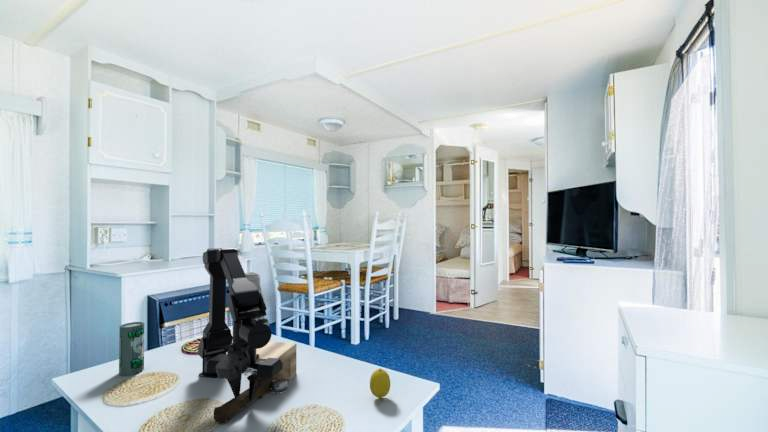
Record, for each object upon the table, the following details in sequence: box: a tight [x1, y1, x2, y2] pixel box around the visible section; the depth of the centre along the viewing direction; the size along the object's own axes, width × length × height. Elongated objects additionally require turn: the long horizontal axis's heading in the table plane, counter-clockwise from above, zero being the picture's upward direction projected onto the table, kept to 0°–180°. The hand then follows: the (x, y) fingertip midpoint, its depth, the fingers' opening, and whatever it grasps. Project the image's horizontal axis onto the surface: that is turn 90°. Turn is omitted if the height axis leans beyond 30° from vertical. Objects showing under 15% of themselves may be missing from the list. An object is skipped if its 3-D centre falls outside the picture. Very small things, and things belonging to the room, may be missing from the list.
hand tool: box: [213, 378, 273, 425], centre depth 88 cm, size 19×4×5 cm, turn 157°
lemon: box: [369, 368, 391, 400], centre depth 91 cm, size 6×6×8 cm
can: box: [118, 321, 145, 377], centre depth 109 cm, size 6×6×15 cm
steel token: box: [270, 378, 288, 394], centre depth 96 cm, size 4×4×2 cm
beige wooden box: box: [256, 341, 297, 380], centre depth 101 cm, size 11×13×10 cm
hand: (244, 398), depth 87 cm, fingers open, 4 cm apart
